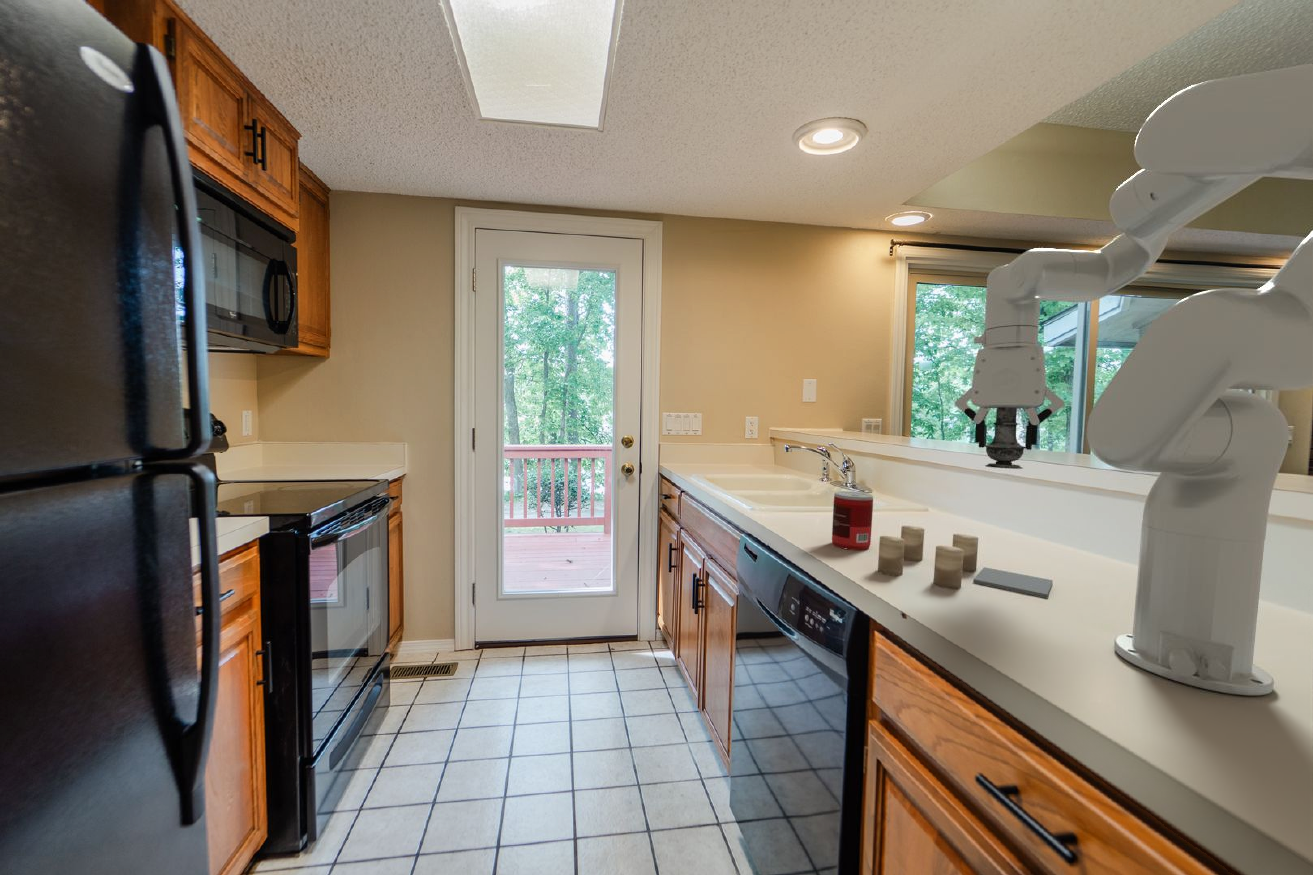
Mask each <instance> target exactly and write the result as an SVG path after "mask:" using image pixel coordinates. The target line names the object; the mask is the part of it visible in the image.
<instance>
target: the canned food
mask: <svg viewBox="0 0 1313 875" xmlns="http://www.w3.org/2000/svg"><path fill="white" fill-rule="evenodd" d="M873 508H874V495H873V494H870V493H865V492H859V491H848V490H847V491H845V490H844V491H841V490H840V491H835V492H834V496H833V509H832V510H833V513H832V528H831V531H832V532H831V542H832V545H833V544H834V546H835V547H836V546H837V548H839V547H840V549H843V548H847V549H846V550H849V549H853V550H852V551H865V549H866V550H868V549H869V548H870V546H871V543H872V542H871V541H872V526H873V510H874V509H873ZM854 549H855V550H854Z"/></svg>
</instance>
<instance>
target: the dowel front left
mask: <svg viewBox="0 0 1313 875" xmlns="http://www.w3.org/2000/svg"><path fill="white" fill-rule="evenodd" d="M904 543H905V540H904V539H902V538H901V537H898V536H892V535H881V536H879V544H878V559H877V560H878V562H877V563H878V564H877V572H878V571H879V572H878V573H880V572H881V573H880V574H883V575H886V574H889V575H888V576H892V575H894V576H895V577H898V576H899V575H900V576H903V572H904V560H905V559H904ZM900 576H899V577H900Z"/></svg>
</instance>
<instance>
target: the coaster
mask: <svg viewBox="0 0 1313 875" xmlns="http://www.w3.org/2000/svg"><path fill="white" fill-rule="evenodd" d="M972 582H973V584H978V585H983V586H987V587H992V588H997V589H1002V590H1005V591H1009V592H1010V591H1011V592H1016V593H1020V594H1025V595H1029V596H1030V595H1031V596H1035V597H1040V598H1045V599H1048V597H1049V594H1050V593H1051V588H1052V586H1053V580H1052V579H1048V578H1042V577H1038V576H1032V575H1026V574H1022V573H1018V572H1017V573H1016V572H1010V571H1005V570H1000V569H996V568H992V567H991V568H990V567H986V566H985V567H982V568H981V570H980V571H979V572H978V573H977V575H976V576H974V578H973V581H972Z"/></svg>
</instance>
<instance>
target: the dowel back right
mask: <svg viewBox="0 0 1313 875" xmlns="http://www.w3.org/2000/svg"><path fill="white" fill-rule="evenodd" d="M951 545H952V546H951V547H956V548H960V549H962V550H964V554H963V567H962V572H967V573H974V572H977V567H978V566H977V564H978V550H979V549H978V547H979V537H978V536H975V535H972V534H965V533H954V534H952V544H951Z"/></svg>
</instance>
